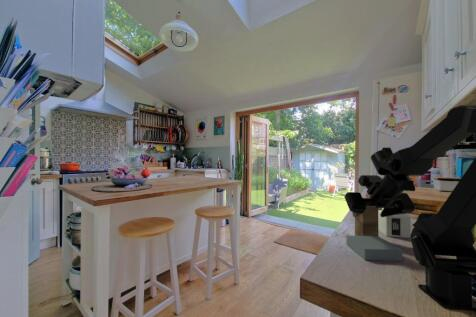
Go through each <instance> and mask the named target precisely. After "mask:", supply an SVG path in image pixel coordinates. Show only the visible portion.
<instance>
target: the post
mask: <svg viewBox="0 0 476 317" xmlns="http://www.w3.org/2000/svg"><path fill="white" fill-rule="evenodd" d="M378 210H379V208H376V207H368V206H366V210H365V211H363V212H364V213H362V214H360V215H358V216H356V217H354V236H379V231H378Z"/></svg>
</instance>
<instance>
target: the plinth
mask: <svg viewBox="0 0 476 317" xmlns="http://www.w3.org/2000/svg"><path fill="white" fill-rule="evenodd" d="M346 246H347V247H348V248H350V249H351V250H352V251H353V252H354V253H355V254H357V255H358V256H359V257H361V259H363V260H364V261H389V262H391V261H395V262H397V261H399V262H403V260H404V259H403V249H402V248H400V247H398V246H397V245H395V244H393V243H391V242H390V241H387V240H386V239H384V238H382V237H380V236H379V235H378V236H355V235H346Z"/></svg>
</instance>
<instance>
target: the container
mask: <svg viewBox="0 0 476 317" xmlns="http://www.w3.org/2000/svg"><path fill="white" fill-rule="evenodd" d="M383 209H384V208H381V209H380V210H379V209H378V232H380V233H381V234H383V235H384V236H385V237H390V238H392V237H393V238H405V239H406V238H407V239H411V237H410V236H411V232H412V230H411V227H412V226H411V223H412V222H411V221H412V220H411V219H412V218H411V216H410V215H409V214H407V213H406V214H399V215H393V216H387V217H381V216H380V214H381V212H382V211H383Z"/></svg>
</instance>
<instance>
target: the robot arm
mask: <svg viewBox="0 0 476 317" xmlns="http://www.w3.org/2000/svg"><path fill="white" fill-rule="evenodd" d="M472 135H474V136H473V138H474V139H473V140H474V143H475V144H476V104H462V105H457V106H456V107H455V106H454V107H453V108H450V109H449V111H448V112H447V114H446V116H445V117H444V118H442V120H441V121H440V122H438V123H437V124H436V125H435V126H434V127H433V128H431V129H430V130H429V131H428V132H427V133H426V134H424V135H423V136H422V137H421V138H420V139H418V140H417V141H416V142H414V144H413V145H411V146H409V147H405V148H402V149H399V150H397V151H395V152H393V150H392V148H391V147H382V149H381V150H377V151H376V152H374V153H372V154H371V156H370V161H371V162H372V164H373V166H374V169H375V170H376V171H377V172H376V173H377V175H373V174H372V175H370V174H365V175H364V174H362V175H360V176H358V181H357V182H358V184H359V185H360V186H361V187H365V188H366V189H367V190H366V193H367V195H369V197H363V196H362V193H361V192H359V191H347V192H346V193H345V195H344V199H345V202H346V205H347V206H348V209H349V212H351V213H352V216H353V217H354V218H355V217H356V216H358V215H360V214H362V213H364V212H363V211H365V210H366V206H368V207H376V208H378V209H382V208H384V209H383V211H382V212H381V214H380V216H381V217H387V216H393V215H399V214H406V215H407V214H411V213H413V212H414V211H416V205H415V203H414V202H413V200H412V199H411V196H409V194H408V193H407V192H415V191H416V186H415V185H414V180H412V179H411V177H422V176H425V175H426V174H427V173H428V172H430V171H431V169H432V168H433V167H434V161H435V160H436V159H437V158H439V157H440V156H442V155H443V154H445V153H446V152H448V151H449V150H451V149H452V148H454V147H455V146H457V145H458V144H460V143H461V142H463V141H464V140H466V139H467V138H469V137H471V136H472ZM379 175H380V176H379ZM381 176H383V177H381ZM410 176H411V177H410ZM475 226H476V156H475V157H474V159H473V160H472V162H471V163H470V165H469V166H468V167H467V169H466V171H465V172H464V173H463V175H462V176H461V177H460V179H459V181H458V182H457V184H455V186H454V188H453V189H452V191H451V193H450V194H449V195H448V197H447V198H446V200H445V201H444V203H443V204H442V205H441V207H440V209H439V210H438V211H437V213H432V212H431V213H430V212H428V213H427V212H421V213H420V214H419V215H418V216H417V219H416V220H415V222H414V223H412V226H411V227H413V228H412V230H411V236H410V237H411V238H410V241H411V246H412V250H413V254H414V258H415V260H416V261H417V262H418V265H420V266H421V267H424V268H425V269H424V270H425V284H421V283H419V284H417V285H418V286H417V287H418V288H419V289H420V290H421V291H422V292H424V293H426V295H428V296H429V297H430V298H431V299H432V300H433V301H435V302H436V303H437V304H439V305H440V306H441V307H443V308H447V309H448V308H449V309H458V310H471V311H472V310H473V311H476V302H475V301H474V300H473V274H472V273H474V274H476V248H475V246H474V244H475V242H476V239H475V235H474V233H473V228H474V227H475ZM436 256H444V257H436ZM445 256H446V257H445ZM447 257H449V258H447ZM450 257H455V258H450ZM470 273H471V274H470Z"/></svg>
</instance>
